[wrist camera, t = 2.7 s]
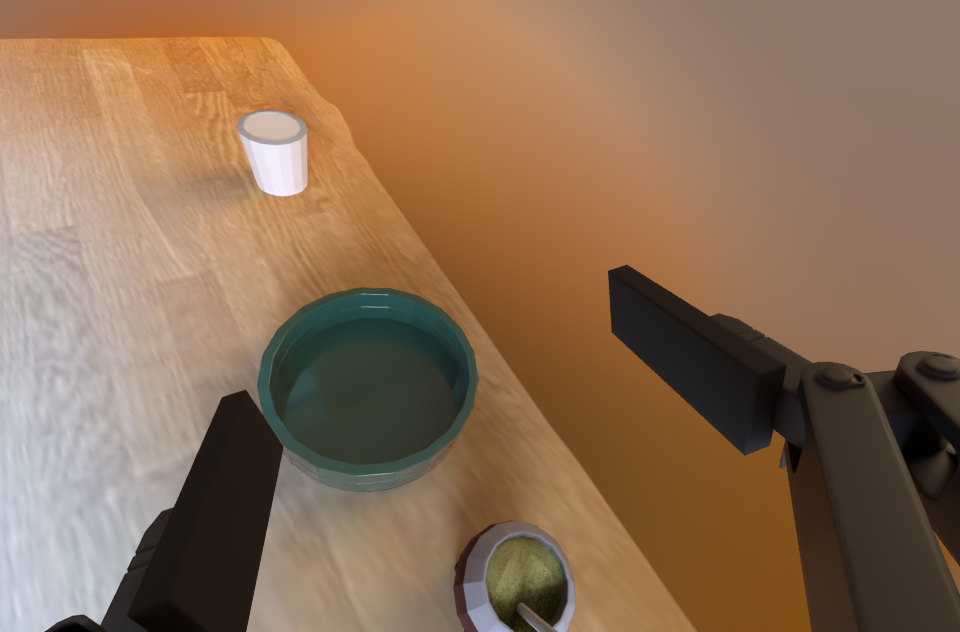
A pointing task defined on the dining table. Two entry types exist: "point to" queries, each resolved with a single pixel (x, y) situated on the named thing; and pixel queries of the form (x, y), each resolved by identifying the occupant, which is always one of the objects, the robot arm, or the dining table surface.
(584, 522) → the dining table surface
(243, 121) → the white cylinder
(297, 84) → the dining table surface
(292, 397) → the green round tray
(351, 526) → the dining table surface
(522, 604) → the mate gourd
